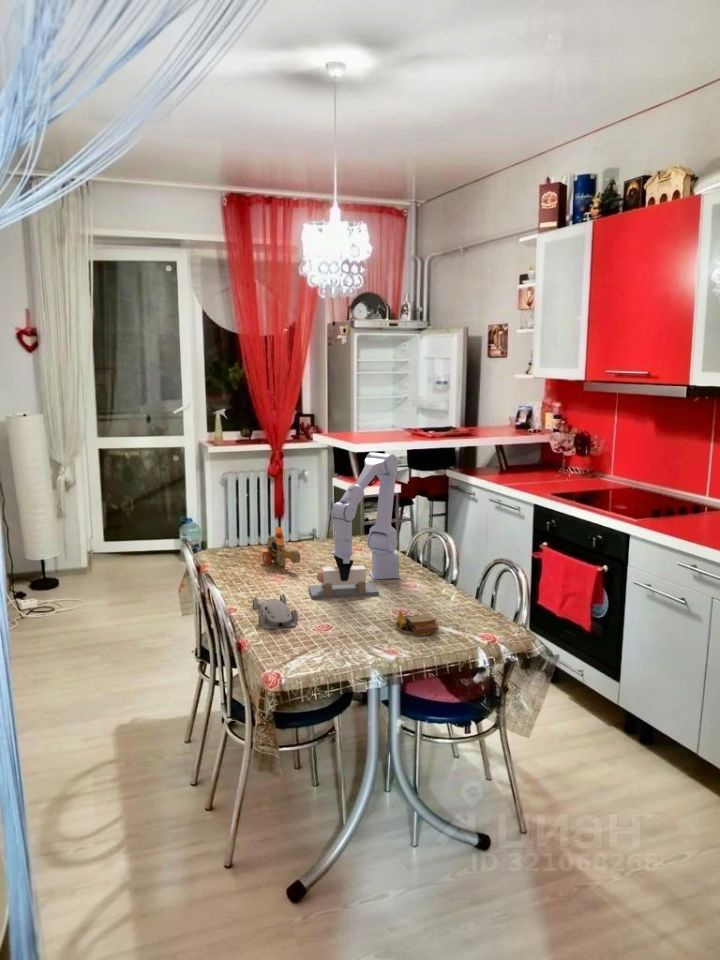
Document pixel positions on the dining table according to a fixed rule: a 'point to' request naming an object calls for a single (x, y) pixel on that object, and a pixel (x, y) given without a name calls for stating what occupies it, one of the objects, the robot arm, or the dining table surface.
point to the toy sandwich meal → (416, 624)
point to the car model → (275, 613)
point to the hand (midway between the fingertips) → (343, 578)
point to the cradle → (343, 590)
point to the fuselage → (333, 576)
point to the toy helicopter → (279, 550)
